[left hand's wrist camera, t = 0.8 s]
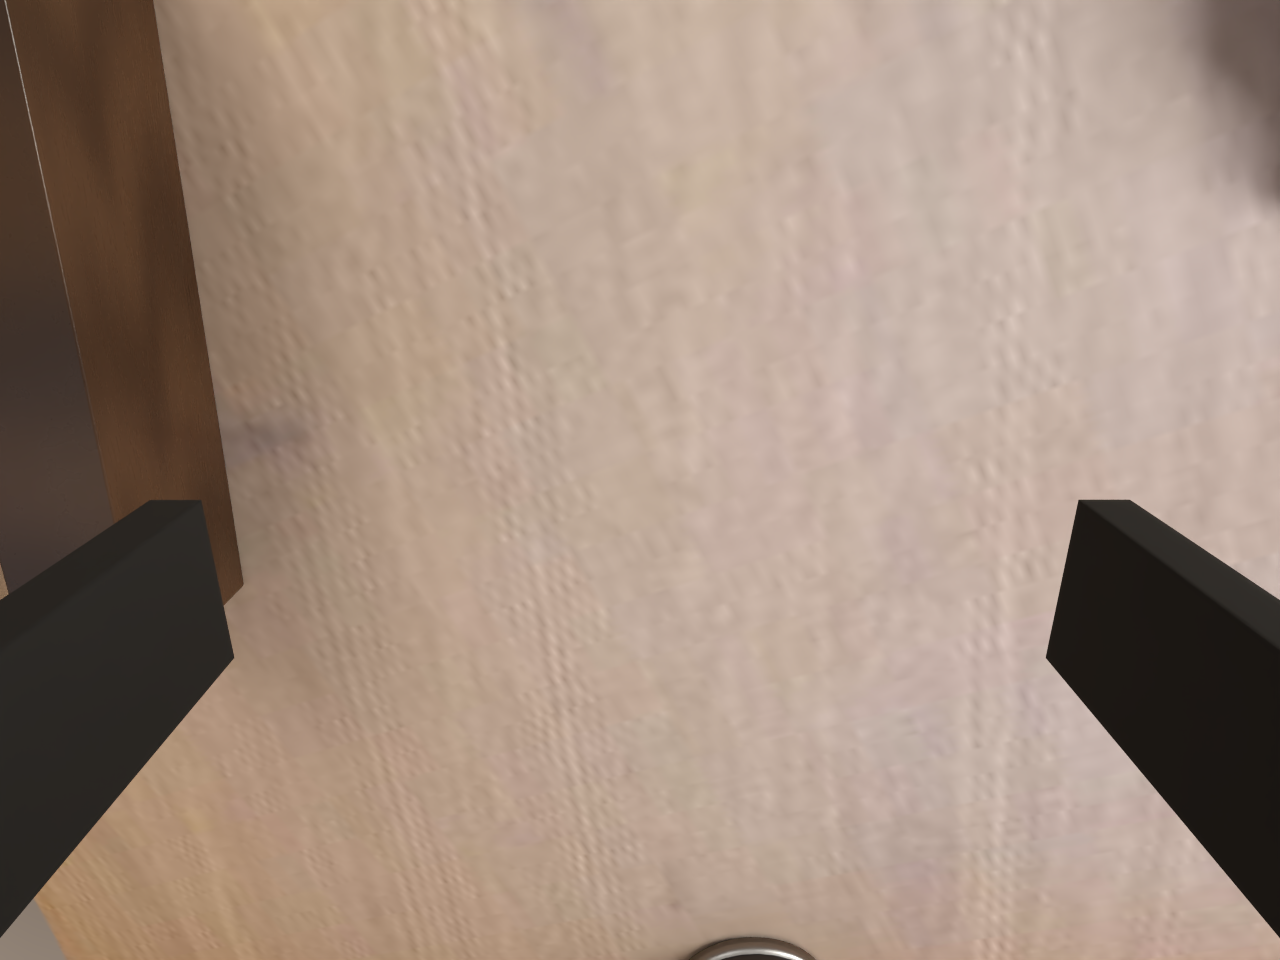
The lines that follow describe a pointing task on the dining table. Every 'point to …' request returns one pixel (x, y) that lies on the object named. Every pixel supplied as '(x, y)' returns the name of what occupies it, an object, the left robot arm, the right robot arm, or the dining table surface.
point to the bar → (96, 292)
